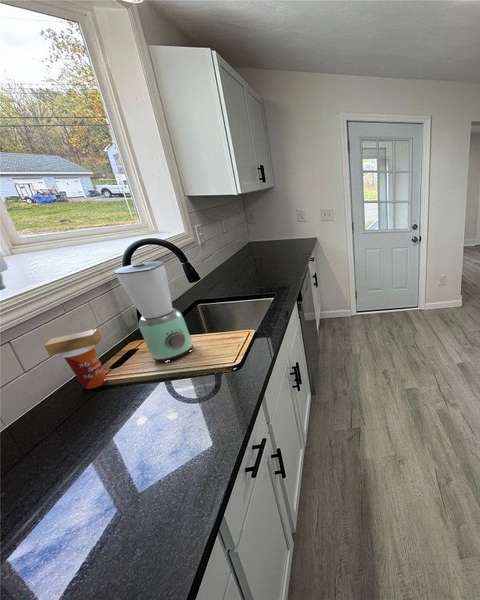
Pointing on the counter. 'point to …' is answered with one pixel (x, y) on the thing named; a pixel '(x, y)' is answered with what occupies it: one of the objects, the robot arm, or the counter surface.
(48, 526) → the counter surface
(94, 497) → the counter surface
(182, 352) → the juicer
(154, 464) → the counter surface
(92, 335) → the oak bar
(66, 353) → the paper cup
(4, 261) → the robot arm
